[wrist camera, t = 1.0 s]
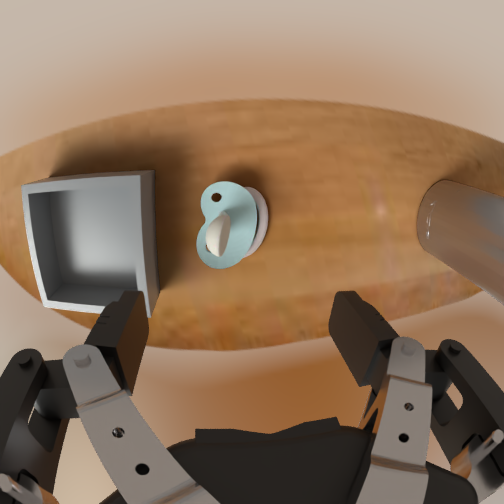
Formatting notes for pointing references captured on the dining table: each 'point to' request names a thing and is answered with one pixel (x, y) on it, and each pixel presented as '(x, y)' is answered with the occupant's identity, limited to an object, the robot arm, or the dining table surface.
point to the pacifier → (231, 224)
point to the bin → (93, 238)
